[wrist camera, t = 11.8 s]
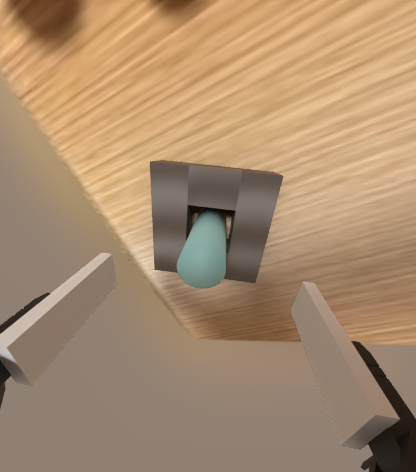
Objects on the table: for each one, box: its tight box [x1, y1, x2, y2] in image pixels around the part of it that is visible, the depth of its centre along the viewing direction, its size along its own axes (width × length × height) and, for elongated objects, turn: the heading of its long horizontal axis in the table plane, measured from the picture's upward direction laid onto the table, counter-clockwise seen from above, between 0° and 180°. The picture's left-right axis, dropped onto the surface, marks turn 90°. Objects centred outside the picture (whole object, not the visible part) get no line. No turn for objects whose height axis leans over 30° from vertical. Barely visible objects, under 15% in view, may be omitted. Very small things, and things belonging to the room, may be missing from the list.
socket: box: [150, 160, 283, 283], centre depth 23 cm, size 14×14×4 cm
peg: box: [177, 207, 226, 288], centre depth 20 cm, size 4×4×12 cm
